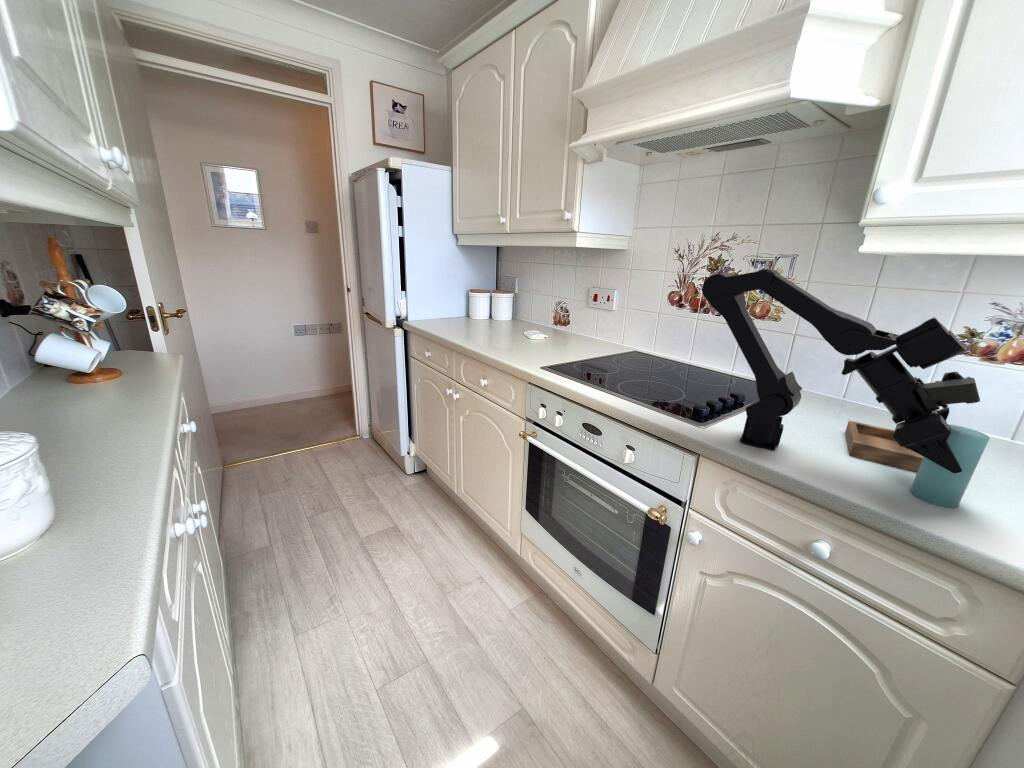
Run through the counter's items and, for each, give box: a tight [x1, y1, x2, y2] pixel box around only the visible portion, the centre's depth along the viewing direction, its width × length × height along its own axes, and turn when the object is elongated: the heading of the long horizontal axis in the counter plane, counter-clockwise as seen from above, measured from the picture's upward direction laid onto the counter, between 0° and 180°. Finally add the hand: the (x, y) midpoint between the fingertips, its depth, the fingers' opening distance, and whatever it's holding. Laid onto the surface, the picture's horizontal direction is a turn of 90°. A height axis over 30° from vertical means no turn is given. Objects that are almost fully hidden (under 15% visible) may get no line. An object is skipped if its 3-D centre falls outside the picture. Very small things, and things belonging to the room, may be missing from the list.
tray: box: [844, 420, 923, 473], centre depth 85 cm, size 16×14×3 cm
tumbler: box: [909, 423, 990, 509], centre depth 68 cm, size 6×6×12 cm
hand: (957, 462), depth 67 cm, fingers open, 9 cm apart
